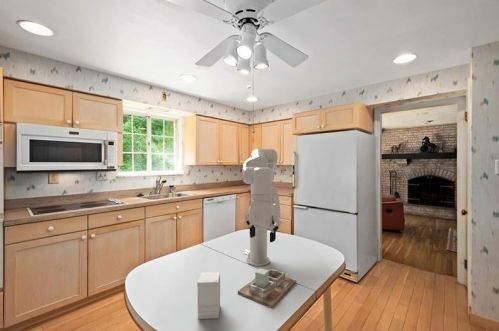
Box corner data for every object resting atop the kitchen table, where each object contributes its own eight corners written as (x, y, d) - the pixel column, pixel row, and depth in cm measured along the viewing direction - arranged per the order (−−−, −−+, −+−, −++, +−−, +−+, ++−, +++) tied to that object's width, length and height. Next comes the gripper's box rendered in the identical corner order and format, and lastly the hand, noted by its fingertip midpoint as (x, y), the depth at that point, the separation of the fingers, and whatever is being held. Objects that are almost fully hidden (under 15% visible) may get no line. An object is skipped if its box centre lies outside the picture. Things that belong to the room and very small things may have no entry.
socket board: (237, 293, 92) (237, 283, 92) (265, 272, 110) (265, 264, 110) (271, 308, 82) (271, 297, 82) (296, 282, 100) (296, 273, 100)
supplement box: (220, 305, 84) (220, 271, 84) (218, 319, 76) (218, 282, 76) (200, 305, 84) (201, 272, 84) (196, 319, 76) (197, 282, 76)
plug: (255, 291, 91) (255, 272, 91) (260, 287, 95) (260, 268, 95) (263, 294, 89) (264, 274, 89) (268, 290, 93) (268, 270, 93)
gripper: (240, 196, 94) (240, 237, 94) (276, 200, 84) (276, 246, 84) (250, 195, 100) (250, 233, 100) (285, 198, 90) (285, 240, 90)
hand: (262, 239), depth 92 cm, fingers open, 9 cm apart
